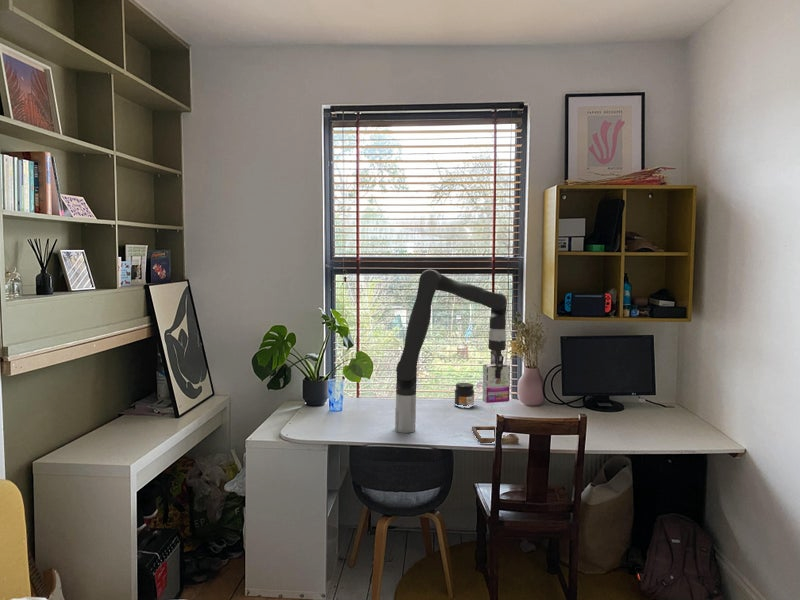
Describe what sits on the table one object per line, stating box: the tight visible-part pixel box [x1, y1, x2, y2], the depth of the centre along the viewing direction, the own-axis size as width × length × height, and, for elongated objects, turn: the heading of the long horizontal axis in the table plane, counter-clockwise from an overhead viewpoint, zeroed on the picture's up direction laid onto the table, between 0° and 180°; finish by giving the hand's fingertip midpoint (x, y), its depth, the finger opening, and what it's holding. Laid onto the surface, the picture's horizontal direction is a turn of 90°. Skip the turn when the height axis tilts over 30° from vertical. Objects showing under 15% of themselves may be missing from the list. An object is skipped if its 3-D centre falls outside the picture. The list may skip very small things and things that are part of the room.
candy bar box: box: [482, 362, 511, 404], centre depth 243 cm, size 11×5×16 cm, turn 105°
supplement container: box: [454, 382, 475, 406], centre depth 295 cm, size 10×10×12 cm
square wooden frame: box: [471, 425, 520, 445], centre depth 244 cm, size 17×17×2 cm
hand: (496, 376), depth 242 cm, fingers closed on candy bar box, 5 cm apart
